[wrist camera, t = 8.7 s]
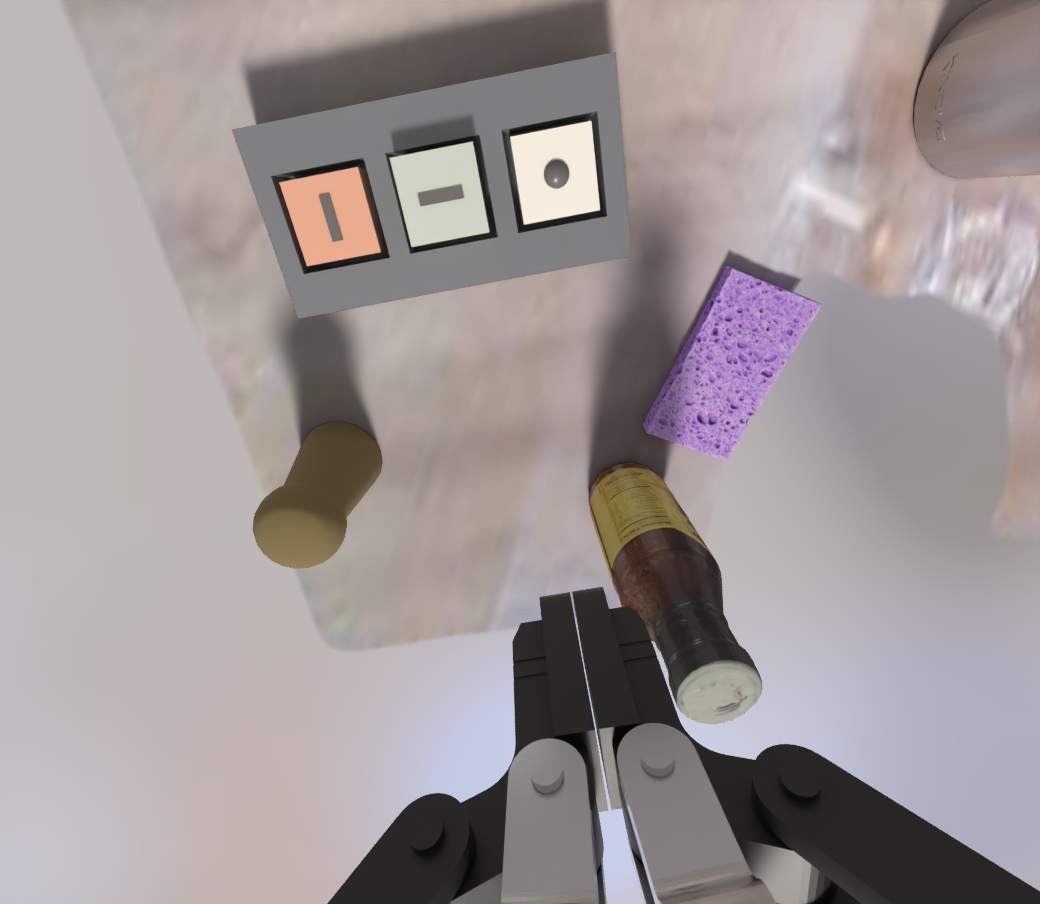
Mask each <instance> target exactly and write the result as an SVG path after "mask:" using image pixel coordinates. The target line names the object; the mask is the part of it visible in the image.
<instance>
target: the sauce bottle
mask: <svg viewBox="0 0 1040 904" xmlns="http://www.w3.org/2000/svg"><path fill="white" fill-rule="evenodd" d="M589 505H590V513H591V517H592V520H593V524H594V527H595V530H596V533H597V536H598V539H599V543H600V546H601V549H602V552H603V555H604V558H605V561H606V564H607V567H608V570H609V574H610V577H611V580H612V583H613V585H614V588H615V590H616V592H617V594H618V595H619V598H620V602H621V605H622V607H626V606H630V607H631V608H632V609H633V610H634V611H635V612H636V613H637V614H638V615H639V616H640V617H641V618H642V619H643V620H644V621H645V624H646V627H647V630H648V632H649V635H650V638H651V641H654V642H655V643H656V646H657V648H658V650H659V651H660V652H661V654H662V657H663V659H664V662H665V665H666V667H667V669H668V674H669V685H670V688H671V691H672V694H673V697H674V699H675V702H676V704H677V706H678V708H679V710H680V711H681V712H682V713H683V714H684V715H686V716H687V717H688V718H690V719H692V720H694V721H696V722H700V723H706V724H718V723H724V722H727V721H732V720H733V719H735V718H737V717H739V716H741V715H742V714H744V713H745V712H747V711H748V710H749V709H750V708H751V707H752V706H753V705H754V704H755V703H756V702H757V700H758V698H759V697H760V695H761V691H762V680H761V678H760V675H759V673H758V670H757V668H756V667H755V665H754V662H753V660H752V659H751V657H750V656H749V654H748V653H747V651H746V650H745V649H743V648H742V647H741V646H739V644H738V642H737V640H736V639H735V637H734V635H733V634H732V632H731V631H730V629H729V627H728V622H727V620H726V618H725V616H724V614H723V596H722V578H721V572H720V569H719V566H718V564H717V562H716V560H715V559H714V557H713V556H712V554H711V553H710V551H709V549H708V548H707V546H706V545H705V543H704V542H703V541H702V539H701V537H700V536H699V534H698V533H697V531H696V530H695V528H694V526H693V525H692V524H691V522H690V520H689V518H688V517H687V515H686V514H685V513H684V511H683V510H682V508H681V507H680V505H679V504H678V502H677V500H676V499H675V497H674V496H673V494H672V493H671V491H670V490H669V488H668V487H667V485H666V484H665V482H664V481H663V480H662V479H661V478H660V477H659V476H658V475H657V474H656V473H654V472H653V471H652V470H650V469H648V468H647V467H645V466H642V465H639V464H636V463H624V464H619V465H616V466H614V467H610V468H609V469H607V470H605V471H603V472H602V473H600V474H599V476H598V477H597V479H596V480H595V481H594V484H593V486H592V488H591V492H590V495H589Z"/></svg>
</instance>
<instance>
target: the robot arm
mask: <svg viewBox="0 0 1040 904" xmlns="http://www.w3.org/2000/svg"><path fill="white" fill-rule="evenodd" d="M914 128H915V134H916V140H917V143H918V145H919V148H920V150H921V152H922V155H923V156H924V157H925V159H926V160H927V161H928V162H929V164H930V165H931V166H932V167H933V168H935V169H936V170H938V171H939V172H941V173H942V174H945V175H948V176H951V177H955V178H989V177H1007V176H1031V175H1040V0H992V1H989V2H987V3H985V4H983V5H982V6H980V7H979V8H977V9H976V10H974V11H973V12H971V13H970V14H968V15H967V16H966V17H965V18H964V19H963V20H962V21H961V22H960V23H959V24H957V25H956V26H955V27H954V28H953V29H952V30H951V31H950V33H949V34H948V35H947V36H946V38H945V39H944V40H943V42H942V43H941V44H940V45H939V47H938V48H937V50H936V51H935V53H934V55H933V57H932V58H931V60H930V62H929V64H928V66H927V67H926V70H925V72H924V75H923V78H922V80H921V83H920V85H919V89H918V93H917V98H916V103H915V110H914ZM572 593H573V599H574V605H575V611H576V617H577V623H578V630H579V636H580V641H581V648H582V653H583V659H584V664H585V670H586V675H587V681H588V686H589V691H590V696H591V702H592V707H593V712H594V718H595V723H596V729H597V734H598V739H599V745H600V750H601V755H602V761H603V766H604V771H605V777H606V782H607V788H608V793H609V798H610V804H611V809H612V810H613V809H620V808H622V809H623V814H624V819H625V824H626V829H627V834H628V840H629V847H630V853H631V858H632V862H633V865H634V869H635V873H636V876H637V880H638V884H639V887H640V890H641V895H642V898H643V902H644V904H1040V891H1038V890H1036V889H1035V888H1033V887H1032V886H1030V885H1028V884H1027V883H1025V882H1024V881H1022V880H1020V879H1019V878H1017V877H1016V876H1014V875H1012V874H1011V873H1009V872H1007V871H1006V870H1004V869H1003V868H1001V867H999V866H998V865H996V864H995V863H993V862H992V861H990V860H988V859H987V858H985V857H983V856H982V855H980V854H979V853H977V852H975V851H974V850H972V849H971V848H969V847H967V846H966V845H964V844H962V843H961V842H959V841H958V840H956V839H954V838H953V837H951V836H950V835H948V834H946V833H945V832H943V831H942V830H940V829H938V828H937V827H935V826H933V825H932V824H930V823H929V822H927V821H925V820H924V819H922V818H920V817H919V816H917V815H916V814H914V813H913V812H911V811H909V810H908V809H906V808H904V807H903V806H901V805H899V804H898V803H896V802H895V801H893V800H892V799H890V798H888V797H887V796H885V795H883V794H882V793H880V792H879V791H877V790H875V789H874V788H872V787H871V786H869V785H867V784H866V783H864V782H862V781H861V780H859V779H858V778H856V777H854V776H853V775H851V774H850V773H848V772H846V771H844V770H843V769H841V768H840V767H838V766H837V765H835V764H833V763H832V762H830V761H829V760H827V759H825V758H824V757H822V756H821V755H819V754H817V753H815V752H813V751H811V750H809V749H807V748H804V747H800V746H797V745H789V744H780V745H775V746H772V747H769V748H767V749H765V750H764V751H762V752H761V753H760V754H759V755H758V756H757V758H756V760H752V759H746V758H741V757H734V756H729V755H724V754H720V753H717V752H714V751H711V750H709V749H707V748H705V747H703V746H702V745H700V744H699V743H697V742H696V741H695V740H694V739H693V738H692V737H690V735H689V734H688V733H687V732H686V731H685V729H684V728H683V726H682V725H681V723H680V720H679V718H678V715H677V712H676V710H675V707H674V704H673V701H672V698H671V695H670V693H669V690H668V687H667V684H666V681H665V678H664V675H663V673H662V670H661V667H660V664H659V661H658V659H657V656H656V653H655V650H654V647H653V644H652V642H651V638H650V635H649V632H648V630H647V627H646V624H645V621H644V620H643V619H642V618H641V617H640V616H639V615H638V614H637V613H636V612H635V611H634V610H633V609H632V608H631V607H630V606H626V607H620V608H614V609H609V607H608V604H607V600H606V596H605V593H604V589H603V587H599V588H592V589H586V590H580V591H574V592H572ZM540 607H541V616H542V620H539V621H533V622H526V623H521V624H520V626H519V629H518V631H517V633H516V635H515V637H514V640H513V663H514V666H513V669H514V670H513V671H514V703H515V732H516V733H515V734H516V748H515V754H514V758H513V760H512V763H511V765H510V767H509V769H508V770H507V772H506V773H505V774H504V776H503V777H502V778H501V779H500V780H499V781H498V782H497V783H496V784H494V785H493V786H492V787H490V788H489V789H487V790H485V791H483V792H481V793H479V794H477V795H476V796H474V797H472V798H470V799H468V800H466V801H464V802H462V803H460V802H459V801H458V800H457V799H455V798H454V797H452V796H450V795H447V794H441V793H437V794H436V793H435V794H429V795H425V796H423V797H420V798H418V799H417V800H415V801H413V802H412V803H411V804H409V805H408V806H407V807H406V808H405V809H404V810H403V811H402V812H401V813H400V814H399V816H398V817H397V818H396V819H395V821H394V822H393V823H392V824H391V825H390V827H389V828H388V829H387V831H386V832H385V833H384V834H383V835H382V837H381V838H380V839H379V840H378V842H377V843H376V844H375V845H374V847H373V848H372V849H371V850H370V852H369V853H368V854H367V855H366V857H365V858H364V859H363V860H362V861H361V863H360V864H359V865H358V867H357V868H356V869H355V870H354V871H353V873H352V874H351V875H350V876H349V878H348V879H347V880H346V882H345V883H344V884H343V885H342V886H341V888H340V889H339V890H338V891H337V893H336V894H335V895H334V896H333V898H332V899H331V900H330V901H329V902H328V904H607V901H606V891H605V879H604V869H603V859H602V858H603V850H604V848H603V838H602V833H601V826H600V820H599V814H598V812H601V811H608V806H607V800H606V794H605V788H604V782H603V776H602V770H601V764H600V758H599V751H598V745H597V739H596V734H595V727H594V722H593V717H592V711H591V706H590V700H589V695H588V689H587V684H586V678H585V673H584V667H583V662H582V657H581V651H580V646H579V640H578V635H577V629H576V624H575V618H574V613H573V607H572V602H571V597H570V592H568V593H562V594H556V595H550V596H543V597H540Z"/></svg>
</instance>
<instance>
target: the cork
mask: <svg viewBox="0 0 1040 904" xmlns="http://www.w3.org/2000/svg"><path fill="white" fill-rule="evenodd" d="M382 463H383V462H382V456H381V451H380V449H379V447H378V445H377V443H376V441H375V440H374V439H373V438H372V437H371V436H370V435H369V434H368V433H367V432H366V431H365V430H363V429H361V428H359V427H358V426H356V425H353V424H349V423H345V422H328V423H325V424H322V425H319V426H317V427H316V428H314V429H313V430H312V431H311V432H310V433H308V435H307V437H306V438H305V440H304V442H303V444H302V446H301V448H300V450H299V453H298V455H297V457H296V459H295V461H294V464H293V466H292V468H291V470H290V473H289V475H288V477H287V479H286V482H285V484H284V486H282V487H279V488H278V489H276V490H274V491H273V492H272V493H270V494H269V495H268V496H267V497H265V499H264V500H263V501H262V502H261V504H260V506H259V507H258V509H257V511H256V513H255V517H254V523H253V532H254V536H255V539H256V542H257V545H258V546H259V547H260V549H261V551H262V552H263V553H264V554H265V555H266V556H267V557H268V558H270V559H271V560H272V561H274V562H276V563H278V564H280V565H282V566H286V567H291V568H309V567H312V566H315V565H318V564H321V563H323V562H325V561H326V560H328V559H329V558H330V557H332V556H333V555H334V554H335V553H336V552H337V550H338V549H339V547H340V546H341V544H342V542H343V540H344V538H345V533H346V527H347V520H346V518H347V516H348V515H349V514H350V513H351V511H352V510H353V509H354V507H355V506H356V505H357V504H358V502H359V501H360V500H361V499H362V497H363V496H364V495H365V493H366V492H367V491H368V490H369V488H370V487H371V486H372V485H373V483H374V482H375V481H376V479H377V477H378V476H379V474H380V472H381V467H382Z"/></svg>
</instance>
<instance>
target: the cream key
mask: <svg viewBox="0 0 1040 904" xmlns="http://www.w3.org/2000/svg"><path fill="white" fill-rule="evenodd" d="M509 143H510V150H511V156H512V162H513V169H514V175H515V181H516V187H517V194H518V200H519V206H520V213H521V219H522V224H524V225H525V224H530V223H536V222H541V221H546V220H551V219H557V218H562V217H567V216H572V215H577V214H583V213H588V212H593V211H598V210H600V203H599V193H598V183H597V173H596V163H595V152H594V142H593V132H592V122H591V121H587V122H582V123H577V124H572V125H567V126H562V127H557V128H552V129H547V130H542V131H537V132H532V133H527V134H522V135H517V136H511V137H510V140H509Z"/></svg>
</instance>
